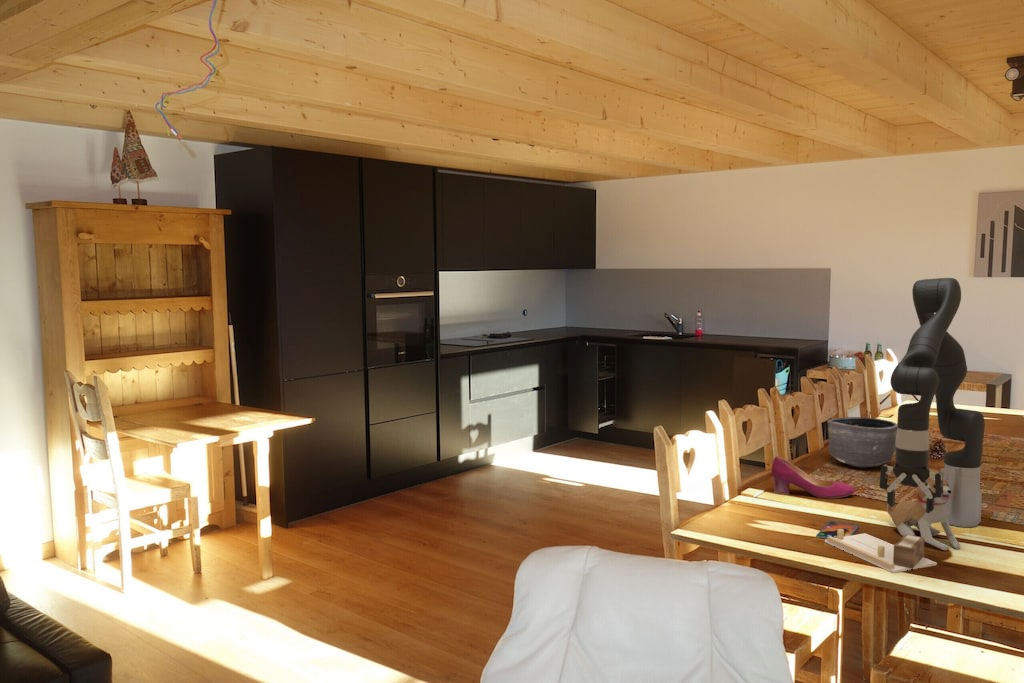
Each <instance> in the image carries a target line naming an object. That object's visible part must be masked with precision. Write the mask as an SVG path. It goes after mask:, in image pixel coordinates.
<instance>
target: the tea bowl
mask: <svg viewBox="0 0 1024 683" xmlns="http://www.w3.org/2000/svg"><path fill="white" fill-rule="evenodd" d="M826 422H827V434H828V453H829V455H830V456H832V457H833V458H834V459H836V460H837V461H839V462H841V463H844V464H847V465H849V466H850V467H853V468H859V469H860V468H862V469H863V468H865V469H866V468H874V467H879V466H881V465H882V466H883V465H885V464H887V463H889V462H890V461H892V460H893V456H894V455H895V451H896V444H895V440H896V433H897V424H898V423H896V422H894V421H890V420H886V419H881V418H875V417H862V416H860V417H859V416H858V417H857V416H851V417H836V418H835V417H834V418H830V419H829V418H828V420H827V421H826Z"/></svg>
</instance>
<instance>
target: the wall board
mask: <svg viewBox="0 0 1024 683" xmlns="http://www.w3.org/2000/svg"><path fill="white" fill-rule="evenodd" d="M824 543H826V544H828V545H830V546H833V547H834V546H835V548H837V549H839V550H841V551H843V550H844V552H846V553H848V554H850V555H852V554H853V556H855V557H857V558H859V559H861V560H864V561H866V562H868V563H870V564H872V565H874V566H876V567H879V568H881V569H884V570H886V571H887V572H890V573H892V574H898V573H903V572H906V571H907V570H908V571H912V570H911V569H912V568H907V567H902V566H898V565H894V564H893V557H894V545H895V544H891V543H889V542H888V541H885V540H882V539H880V538H878V537H875V536H873V535H870V534H868V533H865V532H864V533H858V534H853V535H851V536H845V537H844V530H843V529H838V530H837V538H834V537H831V536H829V537H827V539H824ZM937 565H938V562H936V561H933V560H931V559H929V558H927V557H924V556H923V558H922V559H921V560H920V561H919V562H918V563H917V564H916V566H915V567H914V568H913V570H918V568H919V569H923V568H929V567H933V566H937Z"/></svg>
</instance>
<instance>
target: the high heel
mask: <svg viewBox="0 0 1024 683" xmlns="http://www.w3.org/2000/svg"><path fill="white" fill-rule="evenodd" d="M771 476H772V478H773V479H772V480H773V494H778V495H788V496H790V493H791V492H790V489H791V487H790V484H792V485H794V486H796V487H798V488H800V489H802V490H803V491H806V492H807V493H809V494H811V495H812V496H814V497H816V498H820V499H840V498H844V497H848V496H851V495H854V494H855V491H856V489H855V488H854V487H853V486H852V485H850V484H847V483H843V482H842V483H841V482H839V481H835V480H821V479H817V478H815V477H814V476H811V475H810V474H808V473H807V472H805V471H804V470H803V469H801V468H799V467H798V466H797V465H795V464H793V463H792V462H790V461H788V460H786V459H785V458H783V457H780V456H778V455H775V457H774V459H773V461H772V466H771Z"/></svg>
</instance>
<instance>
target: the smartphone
mask: <svg viewBox="0 0 1024 683" xmlns="http://www.w3.org/2000/svg"><path fill="white" fill-rule="evenodd" d="M838 529H843V530H844V537H845V536H851V535H855V533H856V532H857V530H858V529H859V525H858V524H853V523H848V522H842V521H836V520H829V521H828V522H827V523H826V524H825V525H824V526H823V528H821V530H820V531H819V532H817V534H816V535H815V538H817V537H818V538H819V539H823V538H824V540H827V537H829V536H831V537H834V538H837V530H838Z"/></svg>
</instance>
